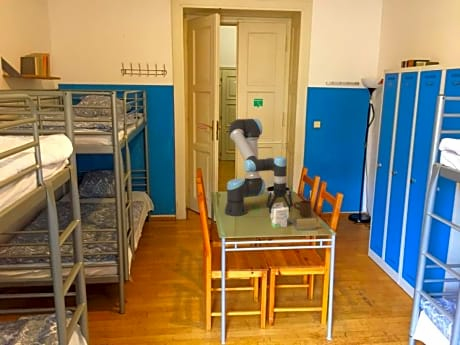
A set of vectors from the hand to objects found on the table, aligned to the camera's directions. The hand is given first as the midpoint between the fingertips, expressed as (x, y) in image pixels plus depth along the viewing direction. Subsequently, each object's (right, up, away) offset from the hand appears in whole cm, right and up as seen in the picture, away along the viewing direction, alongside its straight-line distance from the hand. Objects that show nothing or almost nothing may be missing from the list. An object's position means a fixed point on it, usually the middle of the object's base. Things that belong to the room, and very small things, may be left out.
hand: (279, 217), depth 251 cm
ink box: (0, -6, +1) cm, 6 cm away
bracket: (+15, -5, +3) cm, 16 cm away
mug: (+18, -1, +25) cm, 31 cm away
